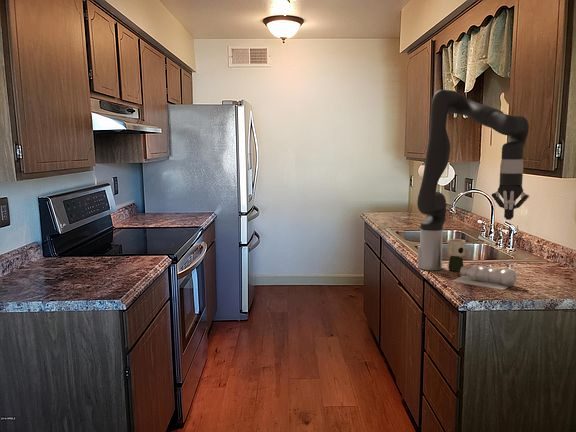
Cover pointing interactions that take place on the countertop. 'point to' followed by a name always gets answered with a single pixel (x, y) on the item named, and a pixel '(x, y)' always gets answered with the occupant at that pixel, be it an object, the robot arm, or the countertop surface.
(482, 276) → the plastic bottle
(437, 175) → the robot arm
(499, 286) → the mat
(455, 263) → the character mug
